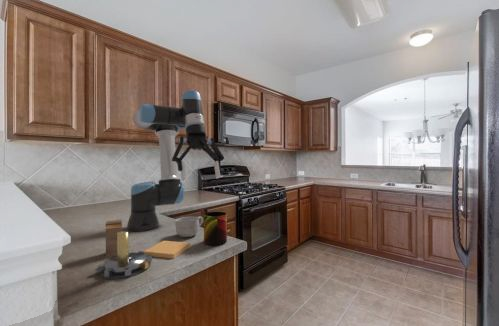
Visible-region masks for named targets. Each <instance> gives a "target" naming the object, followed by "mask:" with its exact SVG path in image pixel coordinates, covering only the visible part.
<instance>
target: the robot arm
mask: <svg viewBox="0 0 499 326" xmlns="http://www.w3.org/2000/svg"><path fill="white" fill-rule="evenodd" d="M200 94H201V93H199V92H198V91H197V90H193V89H189V90H185V91H184V92H183V93H182V94H181V98H182V99H181V101H182V104H181V106H180V107H174V106H166V105H165V106H164V105H157V104H153V103H142V104H140V107H139V109H138V110H136V111H135V112H134V114H133V115H132V120H133V123H134V124H135V125H136V126H137V127H138V128H141V129H143V130H146V131H153V132H154V131H155V135H156V136H157V137H158V142H159V159H160V160H159V161H160V163H159V165H160V176H161V177H160V179H159V180H158V183H156V182H155V181H144V182H140V183H139V182H138V183H134V184H133V185H131V187H130V193H129V194H130V215H129V219H128V221H127V224H126V226H127V227H126V230H127V231H128V232H129V231H130V232H146V231H150V230H154V229H157V228H158V227H160V221H159V218H158V216H157V215H158V214H157V213H156V212H157V211H156V206H157V207H159V206H167V205H172V206H173V205H177V204H178V205H179V204H181V203H182V202H183V200H184V197H185V184H184V183H183V182H181V181H185V180H186V179H187V177H186V176H187V175H186V167H185V165H186V164H185V161H184V160H183V159H184V158H185V156H187V154H188V153H189V152H190V151H191V149H192V150H193V151H194V150H195V151H197V150H198V151H203V152H205V153H206V154H207V155H208V156H209V157H210V158H211V159H212V161H214V162H213V166H214V167H213V168H214V172H215V173H214V175H215V179H219V178H221V172H220V171H221V170H222V166H221V165H222V164H221V162H222V161H223V160H225V157H224V155H223V154H222V151H220V149H219V147H218V146H217V144H216V142H215V138H214V137H211V138H207V135H206V134H207V133H206V127H205V120H204V111H203V105H202V102H203V101H202V97H201V95H200ZM180 130H185V134H186V137H184V136H180V137H179V139H178V144H177V146H176V136H177V135H178V133H179V131H180ZM185 143H186V144H187V145H188V146H187V147H186V149H185V150H184V152H183V153H182V154H181V155H180V156H179V154H180V152H181V149H182V147H183V144H185ZM178 172H180V177H181V178H179V177H178Z"/></svg>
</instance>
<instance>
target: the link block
mask: <svg viewBox="0 0 499 326" xmlns="http://www.w3.org/2000/svg"><path fill="white" fill-rule="evenodd" d="M122 231H123V219H112V220H106V222H105V258H108V257H114V256H117V233H118V232H122Z"/></svg>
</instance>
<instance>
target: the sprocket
mask: <svg viewBox="0 0 499 326" xmlns="http://www.w3.org/2000/svg"><path fill="white" fill-rule="evenodd" d="M129 236H130V235H129V230H127V231H125V230H124V231H123V230H122V232H118V233H117V256H112V257H105V258H104V262H103V263H101V264H97V273H99V274H100V272H104V277H111V276H112V275H123V274H125V276H128V275H131V273H132V272H135V271H138V270H140V269H146V268H148V262H150V263H151V262H152V261H153V256H152V255H151V254H150V255H145V254H144V251H141V250H139V251H138V252H129V251H130V248H129V247H130V246H129V244H130V243H129ZM148 269H149V268H148Z"/></svg>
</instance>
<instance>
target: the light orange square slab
mask: <svg viewBox="0 0 499 326" xmlns="http://www.w3.org/2000/svg"><path fill="white" fill-rule="evenodd" d="M190 247H191V242H186V241H173V240H172V241H171V240H162V241H160V242H159V243H157V244H155V245H153V246H152V247H150V248H147V249H146V250H144V251H143V252H144V254H145V255H150V254H151V255H152V257H155V258H165V259H176V258H177V257H178V256H179V255H181V254H182V253H183V252H185V251H186V250H187V249H189V248H190Z"/></svg>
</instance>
